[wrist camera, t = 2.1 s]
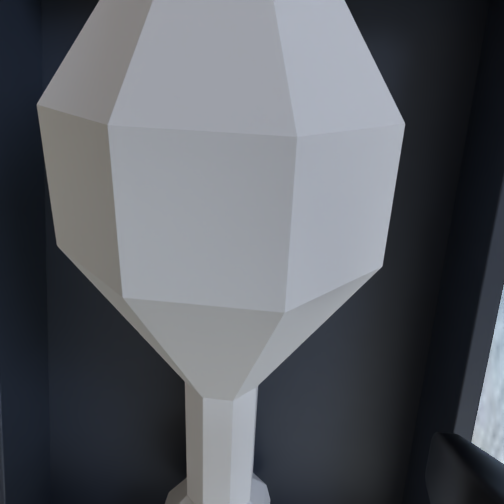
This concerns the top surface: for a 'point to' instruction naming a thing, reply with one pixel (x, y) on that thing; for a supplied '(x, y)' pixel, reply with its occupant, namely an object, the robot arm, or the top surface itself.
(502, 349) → the top surface
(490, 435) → the top surface
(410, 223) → the roasting tin
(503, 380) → the top surface
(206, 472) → the chicken leg
